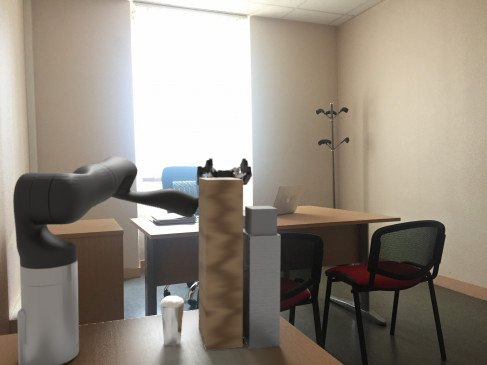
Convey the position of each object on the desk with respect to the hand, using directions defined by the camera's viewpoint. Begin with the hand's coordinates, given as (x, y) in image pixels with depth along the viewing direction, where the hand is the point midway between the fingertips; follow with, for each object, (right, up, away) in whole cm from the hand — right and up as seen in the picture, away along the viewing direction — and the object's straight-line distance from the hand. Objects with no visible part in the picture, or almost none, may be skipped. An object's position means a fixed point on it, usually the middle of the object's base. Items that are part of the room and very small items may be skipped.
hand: (228, 161), depth 99 cm
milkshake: (-10, -37, -22) cm, 44 cm away
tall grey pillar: (+6, -36, -17) cm, 41 cm away
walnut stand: (-1, -37, -19) cm, 41 cm away
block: (+5, -15, -15) cm, 22 cm away
